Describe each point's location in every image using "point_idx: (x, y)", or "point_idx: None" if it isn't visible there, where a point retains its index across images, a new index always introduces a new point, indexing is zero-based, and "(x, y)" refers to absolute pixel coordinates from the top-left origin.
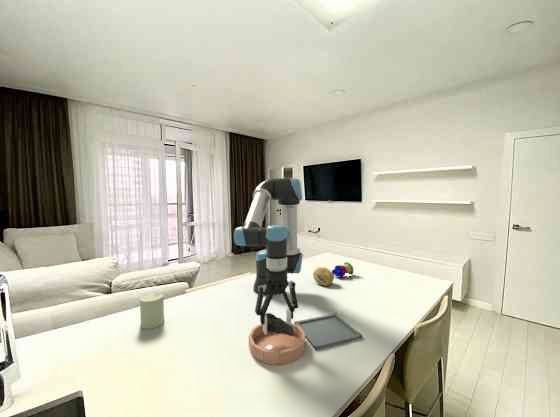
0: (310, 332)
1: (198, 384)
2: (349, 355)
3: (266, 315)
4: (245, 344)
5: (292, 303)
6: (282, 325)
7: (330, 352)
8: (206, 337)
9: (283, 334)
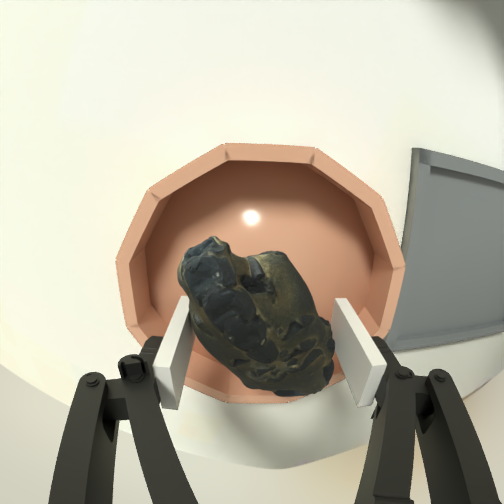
0: (432, 251)
1: (21, 335)
2: None
3: (175, 403)
4: (126, 214)
5: (432, 384)
6: (281, 385)
7: (405, 362)
8: (10, 119)
9: (323, 220)
